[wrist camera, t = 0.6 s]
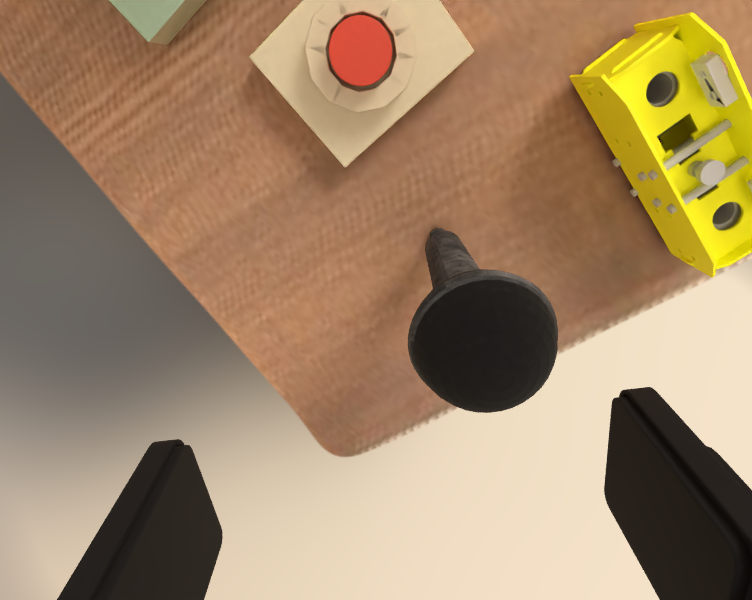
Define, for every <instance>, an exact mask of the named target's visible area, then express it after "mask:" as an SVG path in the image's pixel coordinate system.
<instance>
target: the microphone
mask: <svg viewBox="0 0 752 600" xmlns="http://www.w3.org/2000/svg"><path fill="white" fill-rule="evenodd" d="M425 252H426V257H427V262H428V267H429V271H430V276H431V281H432V285H433V290H432V291H431V292H430V293H429V294H428V296H427V297H426V298H425V299H424V300H423V301H422V303H421V304H420V306H419V307H418V309H417V311H416V313H415V315H414V317H413V319H412V322H411V325H410V329H409V334H408V350H409V355H410V359H411V362H412V364H413V366H414V369H415V370H416V372H417V373H418V375H419V376H420V378H421V379H422V380H423V381H424V382H425V383H426V385H427V386H429V387H430V388H431V389H432V390H433V391H434V392H435V393H436V394H437V395H438V396H439V397H440V398H442V399H444V400H445V401H447V402H449V403H450V404H452V405H454V406H456V407H459V408H462V409H464V410H468V411H473V412H485V413H488V412H497V411H503V410H506V409H510V408H513V407H515V406H517V405H519V404H521V403H523V402H525V401H526V400H527V399H529V398H530V397H532V396H533V395H534V394H535V393H536V392H537V391H538V390H539V389H540V388H541V387H542V386H543V385H544V383H545V382H546V380H547V379H548V377H549V375H550V373H551V370H552V368H553V366H554V363H555V359H556V354H557V340H558V327H557V320H556V316H555V312H554V309H553V307H552V305H551V303H550V301H549V300H548V298H547V297H546V296H545V294H544V293H543V292H542V291H541V290H540V289H539V288H538V287H537V286H535V285H534V284H533V283H531V282H530V281H528V280H526V279H524V278H522V277H520V276H517V275H515V274H512V273H508V272H504V271H498V270H480V269H479V267H478V266H477V264H476V263H475V261H474V260H473V258H472V257H471V255H470V254H469V252H468V251H467V249H466V248H465V246H464V245H463V243H462V242H461V241H460V239H459V238H458V236H457V235H455V234H454V233H452V232H449V231H445V230H443V229H442V228H436V229H434V230H432V232H431V233H430V238H429V239H428V241H427V243H426V246H425Z"/></svg>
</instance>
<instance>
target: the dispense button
mask: <svg viewBox="0 0 752 600" xmlns="http://www.w3.org/2000/svg"><path fill="white" fill-rule="evenodd" d="M329 57H330V61H331V64H332V67H333V69H334V70H335V72H336V73H337V75H338V76H339V77H340V78H341V79H342V80H344V81H345V82H347V83H349V84H351V85H355V86H367V85H371V84H373V83H375V82H377V81H378V80H379V79H381V78H382V77H383V75H384V74H385V73H386V71H387V70H388V68H389V65H390V63H391V59H392V44H391V40H390V37H389V34H388V32H387V31H386V29H385V28H384V27H383V25H382V24H381V23H379V22H378V21H377V20H375V19H374V18H371V17H369V16H364V15H356V16H352V17H349V18H347V19H345V20H344V21H342V22H341V23H340V24H339V25H338V26H337V27H336V29H335V30H334V32H333V34H332V36H331V39H330V43H329Z"/></svg>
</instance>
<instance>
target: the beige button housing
mask: <svg viewBox="0 0 752 600" xmlns="http://www.w3.org/2000/svg"><path fill="white" fill-rule="evenodd" d="M356 15H364V16H369V17H371V18H374V19H375V20H377V21H378V22H379V23H381V24H382V25H383V27H384V28H385V29H386V31H387V32H388V34H389V37H390V40H391V44H392V59H391V63H390V65H389V68H388V70H387V71H386V73H385V74H384V75H383V77H382V78H381V79H379V80H378V81H377V82H375V83H373V84H371V85H367V86H355V85H351V84H349V83H347V82H345V81H344V80H342V79H341V78H340V77H339V76H338V75H337V73H336V72H335V70H334V69H333V67H332V64H331V61H330V57H329V43H330V39H331V36H332V34H333V32H334V30H335V29H336V27H337V26H338V25H339V24H340V23H341V22H342V21H344V20H345V19H347V18H349V17H352V16H356ZM473 52H474V49H473V48H472V47H471V45H470V44H469V42H468V41H467V39H466V38H465V36H464V35H463V33H462V32H461V31H460V29H459V28H458V26H457V25H456V23H455V22H454V20H453V19H452V18H451V16H450V15H449V13H448V12H447V10H446V9H445V7H444V6H443V4H442V3H441V2H440V0H302V1H301V3H300V4H299V5H298V6H297V7H296V8H295V9H294V10H293V11H292V12H291V13H290V14H289V15H288V16H287V17H286V18H285V19H284V21H283V22H282V23H281V24H280V25H279V26H278V27H277V28H276V29H275V30H274V31H273V32H272V33H271V34H270V35H269V36H268V37H267V38H266V40H265V41H264V42H263V43H262V44H261V45H260V46H259V47H258V48H257V49H256V50H255V51H254V52H253V53H252V54H251V55H250V57H249V58H250V59H251V60H252V62H253V63H254V64H255V65H256V66H257V67H258V68H259V70H260V71H261V72H262V73H263V74H264V75H265V77H266V78H267V79H268V80H269V81H270V82H271V83H272V85H273V86H274V87H275V88H276V89H277V90H278V92H279V93H280V94H281V95H282V96H283V97H284V98H285V100H286V101H287V102H288V103H289V104H290V105H291V107H292V108H293V109H294V110H295V111H296V112H297V113H298V115H299V116H300V117H301V118H302V119H303V120H304V121H305V123H306V124H307V125H308V126H309V127H310V128H311V130H312V131H313V132H314V133H315V134H316V135H317V136H318V138H319V139H320V140H321V141H322V142H323V143H324V145H325V146H326V147H327V148H328V149H329V150H330V151H331V153H332V154H333V155H334V156H335V157H336V158H337V159H338V161H339V162H340V163H341V164H342V165H343V166H344V167H347V166H348V165H349V164H350V163H351V162H352V161H353V160H354V159H356V158H357V157H358V156H359V155H360V154H361V153H362V152H363V151H364V150H366V149H367V148H368V147H369V146H370V145H371V144H372V143H373V142H374V141H376V140H377V139H378V138H379V137H380V136H381V135H382V134H383V133H384V132H386V131H387V130H388V129H389V128H390V127H391V126H392V125H393V124H394V123H395V122H397V121H398V120H399V119H400V118H401V117H402V116H403V115H404V114H405V113H407V112H408V111H409V110H410V109H411V108H412V107H413V106H414V105H415V104H417V103H418V102H419V101H420V100H421V99H422V98H423V97H424V96H425V95H427V94H428V93H429V92H430V91H431V90H432V89H433V88H434V87H435V86H437V85H438V84H439V83H440V82H441V81H442V80H443V79H444V78H445V77H447V76H448V75H449V74H450V73H451V72H452V71H453V70H454V69H455V68H457V67H458V66H459V65H460V64H461V63H462V62H463V61H464V60H465V59H467V58H468V57H469V56H470V55H471V54H472V53H473Z"/></svg>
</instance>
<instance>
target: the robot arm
mask: <svg viewBox="0 0 752 600" xmlns="http://www.w3.org/2000/svg"><path fill="white" fill-rule="evenodd" d="M604 492H605V498H606V501H607V504H608V506H609V508H610V510H611V512H612V514H613V516H614V517H615V519H616V521H617V523H618V525H619V527H620V528H621V530H622V532H623V534H624V536H625V537H626V539H627V541H628V543H629V545H630V547H631V548H632V550H633V552H634V554H635V556H636V557H637V559H638V561H639V563H640V565H641V566H642V568H643V570H644V572H645V574H646V575H647V577H648V579H649V581H650V583H651V584H652V586H653V588H654V590H655V592H656V594H657V595H658V597H659V599H660V600H752V490H751V489H750V488H749V487H748V486H747V484H745V482H744V481H743V480H742V479H741V478H740V477H739V476H738V475H737V474H736V473H735V472H734V471H733V469H732V468H731V467H730V466H729V465H728V464H727V463H726V462H725V461H724V460H723V459H722V457H721V456H720V455H719V454H718V453H717V452H715V451H714V450H713V449H712V448H710V447H707V446H705V445H704V443H702V441H701V440H700V439H699V438H698V437H697V436H696V435H695V434H694V433H693V431H692V430H691V429H690V428H689V427H688V426H687V425H686V424H685V423H684V421H683V420H682V419H681V418H680V417H679V416H678V415H677V414H676V413H675V411H674V410H673V409H672V408H671V407H670V406H669V405H668V404H667V403H666V402H665V400H664V399H663V398H662V397H661V396H660V395H659V394H658V393H657V392H656V391H655V390H654V389H653V388H651V387H646V388H637V389H628V390H623V391H621V393H620V396H619V397H618V398H614V399H613V401H612V408H611V419H610V430H609V442H608V453H607V464H606V475H605V486H604ZM221 544H222V529H221V525H220V523H219V520H218V517H217V515H216V512H215V510H214V507H213V504H212V501H211V499H210V496H209V493H208V490H207V488H206V485H205V483H204V480H203V477H202V474H201V472H200V469H199V466H198V464H197V461H196V458H195V455H194V453H193V450H192V448H191V447H190V446H189V445H184V443H183V442H182V441H181V440H178V439H177V440H168V441H159V442H154V443H152V444H151V445H150V446H149V448H148V450H147V451H146V453H145V454H144V456H143V458H142V460H141V461H140V463H139V464H138V466H137V468H136V470H135V471H134V473H133V474H132V476H131V478H130V479H129V481H128V483H127V484H126V486H125V488H124V489H123V491H122V493H121V494H120V496H119V498H118V499H117V501H116V503H115V504H114V506H113V508H112V509H111V511H110V513H109V514H108V516H107V518H106V519H105V521H104V523H103V524H102V526H101V527H100V529H99V531H98V533H97V534H96V536H95V537H94V539H93V541H92V542H91V544H90V546H89V548H88V549H87V551H86V552H85V554H84V556H83V557H82V559H81V561H80V563H79V564H78V566H77V567H76V569H75V571H74V573H73V574H72V576H71V577H70V579H69V581H68V582H67V584H66V586H65V587H64V589H63V591H62V592H61V594H60V596H59V597H58V599H57V600H204V598H205V595H206V592H207V589H208V585H209V582H210V579H211V576H212V573H213V570H214V567H215V564H216V560H217V557H218V554H219V551H220V548H221Z"/></svg>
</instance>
